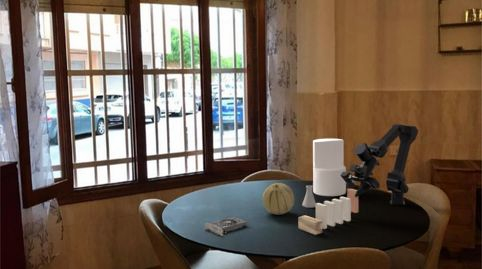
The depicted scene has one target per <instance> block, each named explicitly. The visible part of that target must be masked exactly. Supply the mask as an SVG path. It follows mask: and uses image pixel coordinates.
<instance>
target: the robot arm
mask: <svg viewBox="0 0 482 269" xmlns="http://www.w3.org/2000/svg"><path fill="white" fill-rule="evenodd" d="M418 133H419V130H418V128H417V126H415V125H410V124H409V125H406V124H402V123H394V124H393V125H392V126H391V128H390V129H389V130H388V131H387V132H386V133H385V134H384V135H383V136H382V137H381V138H380V139H378V140H376V141H374V142H372V143H371V144H370V145H369V146H368V144H367V143H365V142H362V143H361V144H358V145H357V146H356V147H354V149H353V154H355V155H356V157H357V158H358V159H359V161H360V162H361V164H359V165H358V164H354V163H350V164H349V168H348V171H346V172H342V173H341V175H340V176H341V177H342V178H343V180H344V181H345V182H346V193H345V194H344V195H346V196H347V189H349V188H350V189H354V188H355V187H356V185H355V182H356V183H359V186H358V188H357V189H356V190H357V192H356V194H355V197H358V198H359V196H361V195H363V194H364V193H366V192H368V191H371V190H372V189H373V190H379V188H380V182H379V181H378V179H377V178H376V177H373V175H374V173H373V172H374V170H375V167H376V166H377V167H379V166H380V161H379V160H380V159H378V158H381V159H383V158H384V157H385V156H386V154H387V152H388V148H389V147H390V145H392V144H393V142H394V141H395V140H396V139H397V138H398V139H399V146H398V149H397V153H396V157H395V161H394V166H393V170H391V172H390V171H389V172H387V176H386V178H385V180H386V181H385V185H386V188H387V191H391V200H389V201H390V202H389V203H390V205H391V206H392V205H393V206H406V203H405V200H404V198H405V196H404V194H407V193H409V190H410V187H409V186H408V184H406V175H405V173H404V172H405V168H406V165H407V160H408V156H409V152H410V149H411V146H412V144H413V143H414V142H415V140H416V139H417V137H418ZM351 172H352V173H351Z"/></svg>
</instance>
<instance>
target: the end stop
mask: <svg viewBox="0 0 482 269" xmlns="http://www.w3.org/2000/svg"><path fill="white" fill-rule="evenodd" d="M297 220H298V229H299V230H302V231H304V232H307V233H310V234H312V235H315V236H316V235H318V234H319V235H320V234H322V233H323V228H322V221H321V220H318V219H316V217H315V218H314V217H311V216H308V215H302V216H298V219H297Z"/></svg>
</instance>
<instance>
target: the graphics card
mask: <svg viewBox="0 0 482 269" xmlns="http://www.w3.org/2000/svg"><path fill="white" fill-rule="evenodd" d="M246 225H248V220H243V219H242V218H238V217H237V216H233V217H229V218H225V219H222V220H218V221H213V222H205V223H204V230H208V231H210V233H214V234H215V235H217V236H219V235H220V236H221V237H223V236H224V233H225V234H226V233H227V232H229V231H234V230H237V229H240V228H242V227H244V226H246Z"/></svg>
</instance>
